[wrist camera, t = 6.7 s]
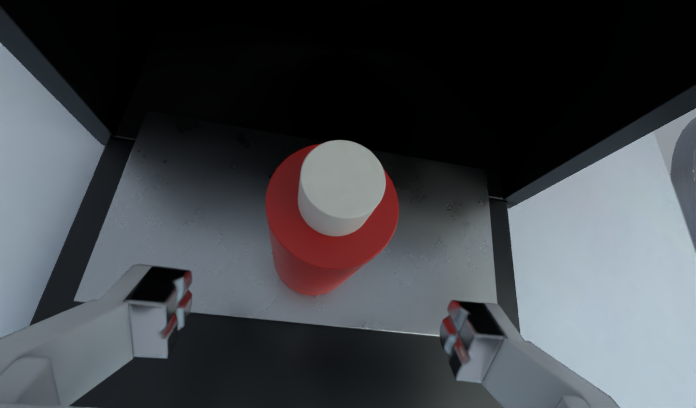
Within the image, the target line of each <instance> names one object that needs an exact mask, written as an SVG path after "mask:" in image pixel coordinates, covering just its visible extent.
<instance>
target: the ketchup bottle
mask: <svg viewBox="0 0 696 408" xmlns="http://www.w3.org/2000/svg"><path fill="white" fill-rule="evenodd" d="M265 208H266V216H267V223H268V229H269V235H270V241H271V248H272V254H273V260H274V265H275V269H276V271H277V273H278V275H279V277H280V278H281V280H282V281H283V282H284V283H285V284H286V285H287V286H288V287H289V288H291V289H292V290H294V291H296V292H298V293H301V294H305V295H321V294H325V293H328V292H330V291H332V290H334V289H335V288H337V287H338V286H339V285H341V284H342V283H343V282H344V281H346V280H347V279H348V278H349V277H351V276H352V275H353V274H354V273H356V272H357V271H358V270H359V269H361V268H362V267H363V266H364V265H366V264H367V263H368V262H369V261H371V260H372V259H373V258H374V257H376V256H377V255H378V254H379V253H380V252H381V251H382V250H383V249H384V248H385V247H386V246H387V244H388V243H389V241H390V240H391V238H392V236H393V234H394V232H395V229H396V226H397V223H398V217H399V203H398V197H397V193H396V190H395V187H394V184H393V182H392V180H391V179H390V177H389V175H388V174H387V172H386V171H385V170H384V169H383V167H382V165H381V163H380V162H379V160H378V159H377V157H376V156H375V155H374V154H373V153H372V152H371V151H370V150H368V149H367V148H365V147H364V146H362V145H360V144H357V143H355V142H352V141H347V140H333V141H328V142H325V143H322V144H316V145H311V146H308V147H305V148H303V149H300V150H298V151H296V152H295V153H293V154H291V155H290V156H289V157H287V158H286V159H285V160H284V161H283V162H282V163H281V164H280V165H279V166H278V168H277V169H276V170H275V172H274V173H273V175H272V177H271V179H270V181H269V184H268V187H267V191H266V198H265Z"/></svg>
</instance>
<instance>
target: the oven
mask: <svg viewBox="0 0 696 408" xmlns="http://www.w3.org/2000/svg"><path fill="white" fill-rule="evenodd" d="M0 42H1V43H2V44H3V45H4V46H5V47H6V49H7V50H8V51H9V52H10V53H11V54H12V55H13V56H14V57H15V58H16V59H17V60H18V61H19V62H20V63H21V64H22V65H23V66H24V67H25V68H26V69H27V70H28V71H29V72H30V73H31V74H32V75H33V76H34V77H35V78H36V79H37V80H38V81H39V82H40V83H41V84H42V85H43V86H44V87H45V88H46V89H47V90H48V91H49V92H50V93H51V94H52V95H53V96H54V97H55V98H56V99H57V100H58V101H59V102H60V103H61V104H62V105H63V106H64V107H65V108H66V109H67V110H68V111H69V112H70V113H71V114H72V115H73V116H74V117H75V118H76V119H77V120H78V121H79V122H80V123H81V124H82V125H83V126H84V127H85V128H86V129H87V130H88V131H89V132H90V133H91V134H92V135H93V136H94V137H95V138H96V139H97V140H98V141H99V142H100V143H101V144H103V145H106V146H105V149H104V151H103V153H102V156H101V158H100V161H99V163H98V165H97V168H96V170H95V172H94V175H93V177H92V179H91V182H90V184H89V186H88V189H87V191H86V194H85V196H84V198H83V201H82V203H81V205H80V208H79V210H78V212H77V215H76V217H75V220H74V222H73V224H72V227H71V229H70V231H69V234H68V236H67V238H66V241H65V243H64V245H63V248H62V250H61V253H60V255H59V257H58V260H57V262H56V264H55V267H54V269H53V271H52V274H51V276H50V279H49V281H48V283H47V286H46V288H45V290H44V293H43V295H42V297H41V300H40V302H39V304H38V307H37V309H36V312H35V314H34V316H33V319H32V321H31V323H30V326H31V325H33V324H35V323H38V322H40V321H43V320H45V319H47V318H50V317H52V316H55V315H57V314H59V313H62V312H64V311H66V310H69V309H71V308H74V307H76V306H78V305H81V304H83V303H86V302H88V301H90V300H93V299H95V300H100V298H101V297H102V296H103V295H104V294H105V293H106V292H107V291H108V290H109V289H110V288H111V287H112V286H113V285H114V284H115V283H116V282H117V281H118V279H119V278H120V277H121V276H122V275H123V274H124V273H125V272H126V271H127V270H128V269H129V268H130V267H131V266H132V265H134V264H146V265H153V266H162V267H170V268H177V269H185V270H190V271H191V272H192V284H191V285H190V287H189V289H188V290H189V291H190V292H191V293H192V306H191V311H190V314H189V317H188V320H187V322H186V324H185V326H184V327H183V328H181V329H180V330H178V339H177V341H176V343H175V345H174V347H173V349H172V350H171V352H170V354H169V356H168V358H147V357H133V359H132V360H130V361H129V362H128V363H126V364H125V365H124V366H122V367H121V368H120V369H118V370H117V371H116V372H114V373H113V374H112V375H110V376H109V377H107V378H106V379H105V380H103V381H102V382H101V383H99V384H98V385H97V386H95V387H94V388H93V389H91V390H90V391H88V392H87V393H86V394H84V395H83V396H82V397H80V398H79V399H78V400H76V401H75V402H74V403H72V404H71V405H69V406H74V407H92V408H504V407H503V406H502V405H501V404H500V403H499V402H498V401H497V400H496V399H495V398H494V397H493V396H492V395H491V394H490V393H489V392H488V390H487V389H486V388H485V387H484V386H483V385H482V383H475V382H466V381H456V379H455V377H454V374H453V372H452V370H451V367H450V365H449V362H448V361H449V358H450V355H449V354H447V353H446V352H445V351H444V350H443V348H442V345H441V342H440V326H441V323H442V320H443V319H444V318H446V317H447V316H448V315H449V313H448V311H447V307H448V305H449V303H450V302H451V301H452V300H460V301H469V302H479V303H481V302H484V303H496V304H497V305H499V306H500V307H501V308H502V310H503V311H504V313H505V314H506V315H507V317H508V318H509V320H510V321H511V322H512V324H513V325H514V326H515V328H516V329H517V331H518V332H519V333H520V327H519V318H518V308H517V298H516V289H515V279H514V269H513V259H512V250H511V240H510V230H509V221H508V211H507V208H511V207H513V206H515V205H517V204H519V203H520V202H522V201H524V200H526V199H528V198H530V197H532V196H533V195H535V194H537V193H539V192H541V191H543V190H545V189H546V188H548V187H550V186H552V185H554V184H556V183H558V182H559V181H561V180H563V179H565V178H567V177H569V176H571V175H572V174H574V173H576V172H578V171H580V170H582V169H584V168H586V167H587V166H589V165H591V164H593V163H595V162H597V161H599V160H600V159H602V158H604V157H606V156H608V155H610V154H612V153H613V152H615V151H617V150H619V149H621V148H623V147H625V146H626V145H628V144H630V143H632V142H634V141H636V140H638V139H639V138H641V137H643V136H645V135H647V134H649V133H651V132H652V131H654V130H656V129H658V128H660V127H661V126H664V125H665V124H667V123H669V122H671V121H673V120H675V119H677V118H678V117H680V116H682V115H684V114H686V113H688V112H690V111H691V110H693V109H695V108H696V0H0ZM333 140H347V141H352V142H355V143H357V144H360V145H362V146H364V147H365V148H367V149H368V150H370V151H371V152H372V153H373V154H374V155H375V156H376V157H377V159H378V160H379V162H380V163H381V165H382V167H383V169H384V170H385V171H386V172H387V174H388V175H389V177H390V179H391V180H392V182H393V184H394V187H395V190H396V193H397V197H398V203H399V217H398V223H397V226H396V229H395V232H394V234H393V236H392V238H391V240H390V241H389V243H388V244H387V246H386V247H385V248H384V249H383V250H382V251H381V252H380V253H379V254H378V255H377V256H376V257H374V258H373V259H372V260H371V261H369V262H368V263H367V264H366V265H364V266H363V267H362V268H361V269H359V270H358V271H357V272H356V273H354V274H353V275H352V276H351V277H349V278H348V279H347V280H346V281H344V282H343V283H342V284H341V285H339V286H338V287H337V288H335V289H334V290H332V291H330V292H328V293H325V294H321V295H305V294H301V293H298V292H296V291H294V290H292V289H291V288H289V287H288V286H287V285H286V284H285V283H284V282H283V281H282V280H281V278H280V277H279V275H278V273H277V271H276V269H275V265H274V260H273V254H272V248H271V241H270V235H269V229H268V223H267V216H266V208H265V198H266V191H267V187H268V184H269V181H270V179H271V177H272V175H273V173H274V172H275V170H276V169H277V168H278V166H279V165H280V164H281V163H282V162H283V161H284V160H285V159H286V158H287V157H289V156H290V155H291V154H293V153H295V152H296V151H298V150H300V149H303V148H305V147H308V146H311V145H316V144H322V143H325V142H328V141H333Z"/></svg>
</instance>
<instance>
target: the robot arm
mask: <svg viewBox="0 0 696 408" xmlns="http://www.w3.org/2000/svg"><path fill="white" fill-rule="evenodd" d="M191 284H192V272H191V271H190V270H185V269H177V268H170V267H162V266H153V265H146V264H134V265H132V266H131V267H130V268H129V269H128V270H127V271H126V272H125V273H124V274H123V275H122V276H121V277H120V278H119V279H118V281H117V282H116V283H115V284H114V285H113V286H112V287H111V288H110V289H109V290H108V291H107V292H106V293H105V294H104V295H103V296H102V297H101V298H100V300H95V299H93V300H90V301H88V302H86V303H83V304H81V305H78V306H76V307H74V308H71V309H69V310H66V311H64V312H62V313H59V314H57V315H55V316H52V317H50V318H47V319H45V320H43V321H40V322H38V323H35V324H33V325H31V326H28V327H26V328H24V329H21V330H19V331H16V332H14V333H12V334H9V335H7V336H4V337H2V338H0V408H92V407H74V406H69V405H71V404H72V403H74V402H75V401H76V400H78V399H79V398H80V397H82V396H83V395H84V394H86V393H87V392H88V391H90V390H91V389H93V388H94V387H95V386H97V385H98V384H99V383H101V382H102V381H103V380H105V379H106V378H107V377H109V376H110V375H112V374H113V373H114V372H116V371H117V370H118V369H120V368H121V367H122V366H124V365H125V364H126V363H128V362H129V361H130V360H132V359H133V357H147V358H168V356H169V354H170V352H171V350H172V349H173V347H174V345H175V343H176V341H177V339H178V330H180V329H181V328H183V327H184V326H185V324H186V322H187V320H188V317H189V314H190V311H191V306H192V293H191V292H190V291H189V290H188V289H189V287H190V285H191ZM447 311H448V313H449V315H448V316H447V317H446V318H444V319H443V320H442V323H441V326H440V342H441V345H442V348H443V350H444V351H445V352H446V353H447V354H449V355H450V358H449V361H448V362H449V365H450V367H451V370H452V372H453V374H454V377H455V379H456V381H466V382H475V383H482V385H483V386H484V387H485V388H486V389H487V390H488V392H489V393H490V394H491V395H492V396H493V397H494V398H495V399H496V400H497V401H498V402H499V403H500V404H501V405H502V406H503V407H504V408H620V407H619V406H618V405H617V404H616V402H615V401H614V400H613V399H612V398H611V397H610V396H608V395H607V394H606V393H604V392H603V391H601V390H600V389H598V388H597V387H595V386H594V385H592V384H591V383H589V382H588V381H587V380H585V379H584V378H582V377H581V376H579V375H578V374H576V373H575V372H573V371H572V370H570V369H569V368H568V367H566V366H565V365H563V364H562V363H560V362H559V361H557V360H556V359H554V358H553V357H552V356H550V355H549V354H547V353H546V352H544V351H543V350H541V349H540V348H538V347H537V346H535V345H534V344H533V343H531V342H530V341H525V340H524V339H523V338H522V336H521V335H520V333H519V332H518V331H517V329H516V328H515V326H514V325H513V324H512V322H511V321H510V320H509V318H508V317H507V315H506V314H505V313H504V311H503V310H502V308H501V307H500V306H499V305H497V304H496V303H484V302H481V303H479V302H469V301H460V300H452V301H451V302H450V303H449V305H448V307H447Z"/></svg>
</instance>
